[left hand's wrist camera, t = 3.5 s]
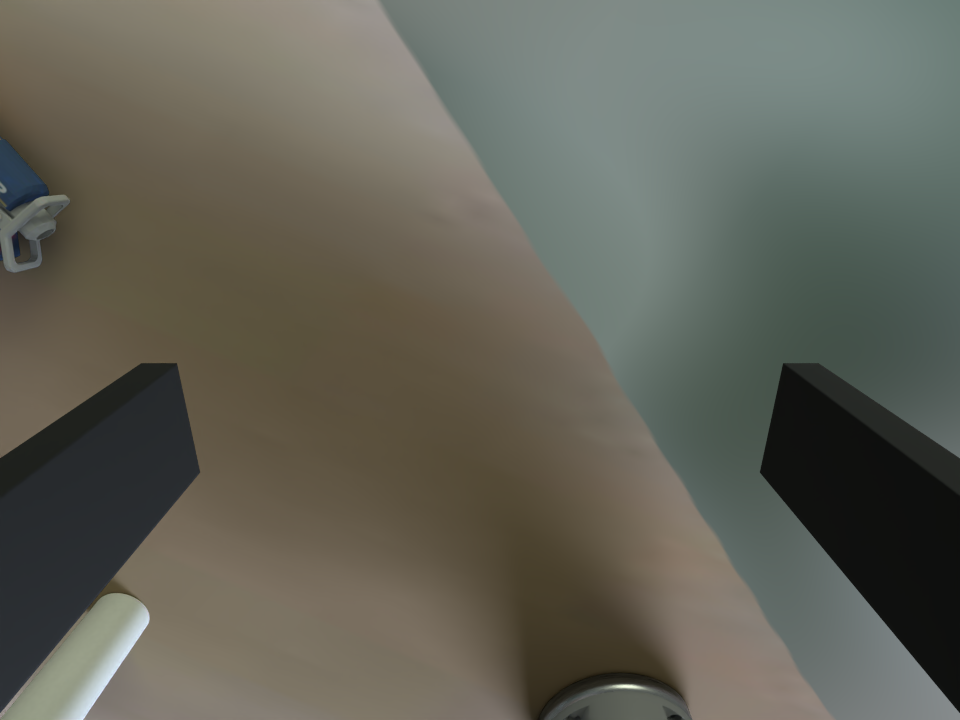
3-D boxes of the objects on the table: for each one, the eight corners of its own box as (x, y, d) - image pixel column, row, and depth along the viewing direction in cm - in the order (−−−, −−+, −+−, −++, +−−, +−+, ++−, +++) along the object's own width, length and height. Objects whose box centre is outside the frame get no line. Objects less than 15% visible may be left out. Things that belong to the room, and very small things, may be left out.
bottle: (125, 585, 50) (-69, 830, 32) (160, 621, 52) (-6, 874, 34) (84, 605, 51) (-127, 854, 33) (120, 639, 52) (-63, 896, 35)
